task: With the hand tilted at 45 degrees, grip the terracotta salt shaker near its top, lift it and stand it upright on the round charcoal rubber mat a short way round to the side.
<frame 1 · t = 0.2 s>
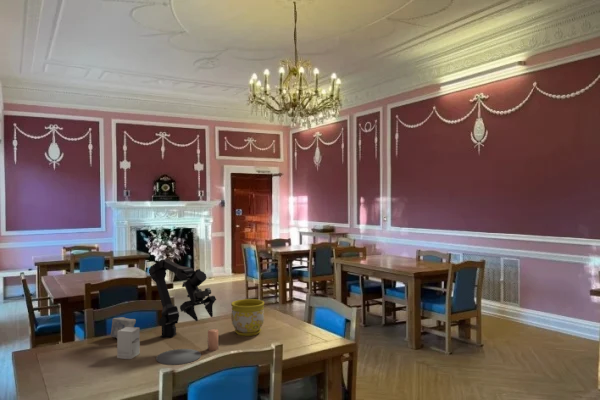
hand: (204, 318, 225), 14 cm above the table, tool tilted 35°, fingers open, 9 cm apart
mat: (178, 356, 212), on the table
flowerpot: (247, 333, 250), on the table
incense holder: (123, 338, 241), on the table
salt shaker: (213, 349, 223), on the table
supplement box: (128, 356, 213), on the table
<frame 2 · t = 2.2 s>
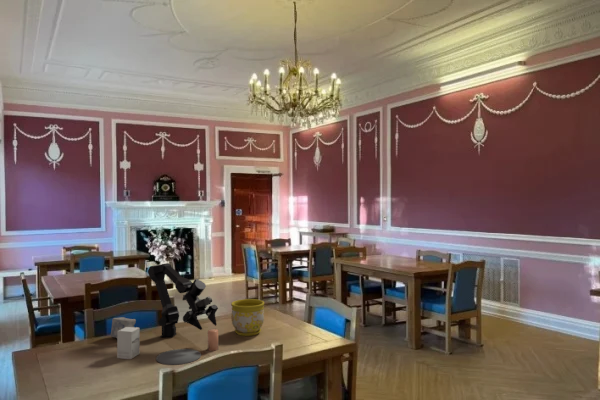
hand: (208, 327, 225), 10 cm above the table, tool tilted 45°, fingers open, 9 cm apart
nothing on the table moved.
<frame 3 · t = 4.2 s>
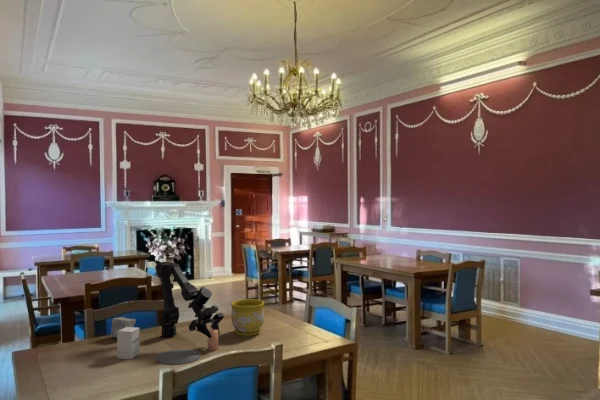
hand: (215, 336, 222), 7 cm above the table, tool tilted 45°, fingers closed on salt shaker, 5 cm apart
salt shaker: (213, 349, 223), on the table, touching gripper
everything else where it was.
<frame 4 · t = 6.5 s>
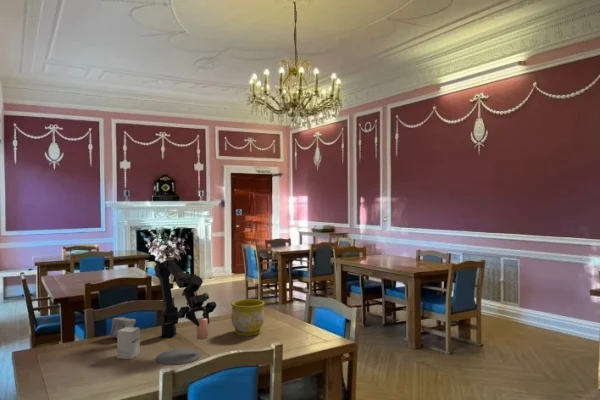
hand: (203, 324, 217), 13 cm above the table, tool tilted 45°, fingers closed on salt shaker, 5 cm apart
salt shaker: (202, 337, 218), point 7 cm above the table, touching gripper
everything else where it was.
when the fingers open (8 cm above the table, at t = 8.9 s): salt shaker drops 1 cm, resting on mat.
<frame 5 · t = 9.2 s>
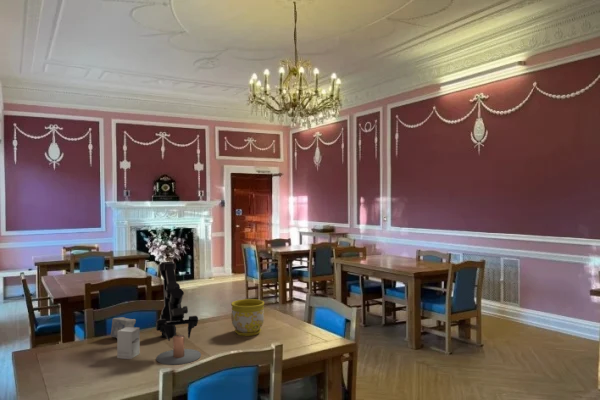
hand: (179, 339, 211), 9 cm above the table, tool tilted 45°, fingers open, 9 cm apart
salt shaker: (178, 356, 212), resting on mat
everything else where it was.
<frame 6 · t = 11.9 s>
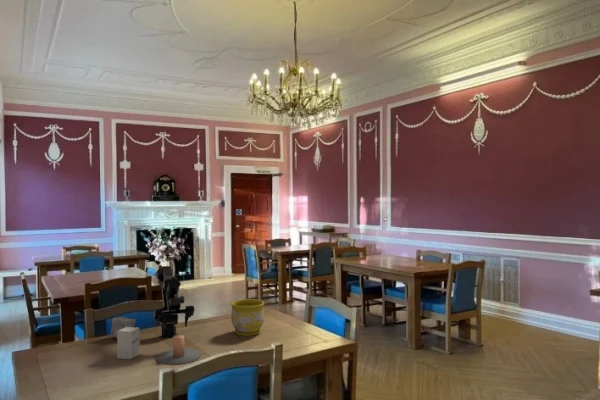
hand: (176, 327, 219), 11 cm above the table, tool tilted 45°, fingers open, 9 cm apart
nothing on the table moved.
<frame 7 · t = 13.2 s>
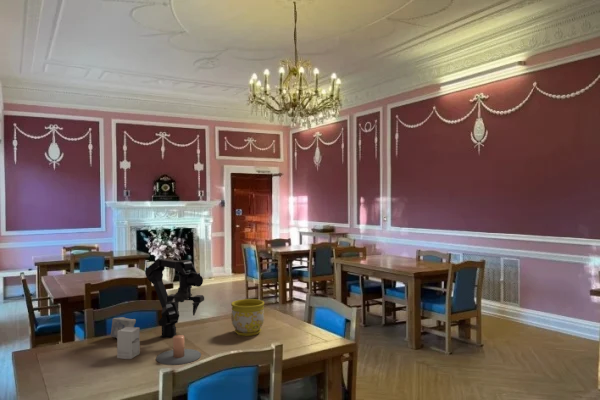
hand: (185, 315, 237), 13 cm above the table, tool pointing down, fingers open, 9 cm apart
nothing on the table moved.
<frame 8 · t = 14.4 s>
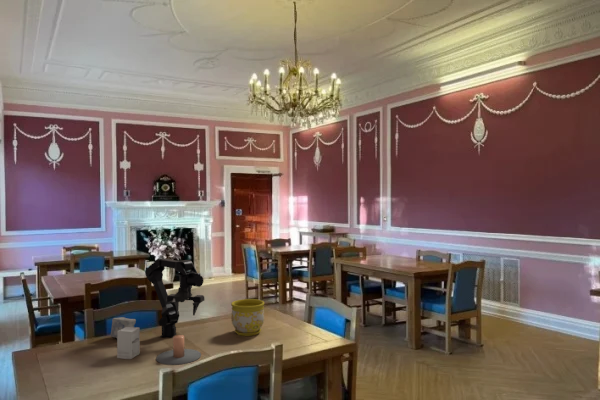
hand: (185, 314, 237), 13 cm above the table, tool pointing down, fingers open, 9 cm apart
nothing on the table moved.
at the end: salt shaker inside the target area on the mat (0.0 cm from its centre), point 0.4 cm above the mat's base; salt shaker tilted 0°; the gripper is holding nothing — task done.
